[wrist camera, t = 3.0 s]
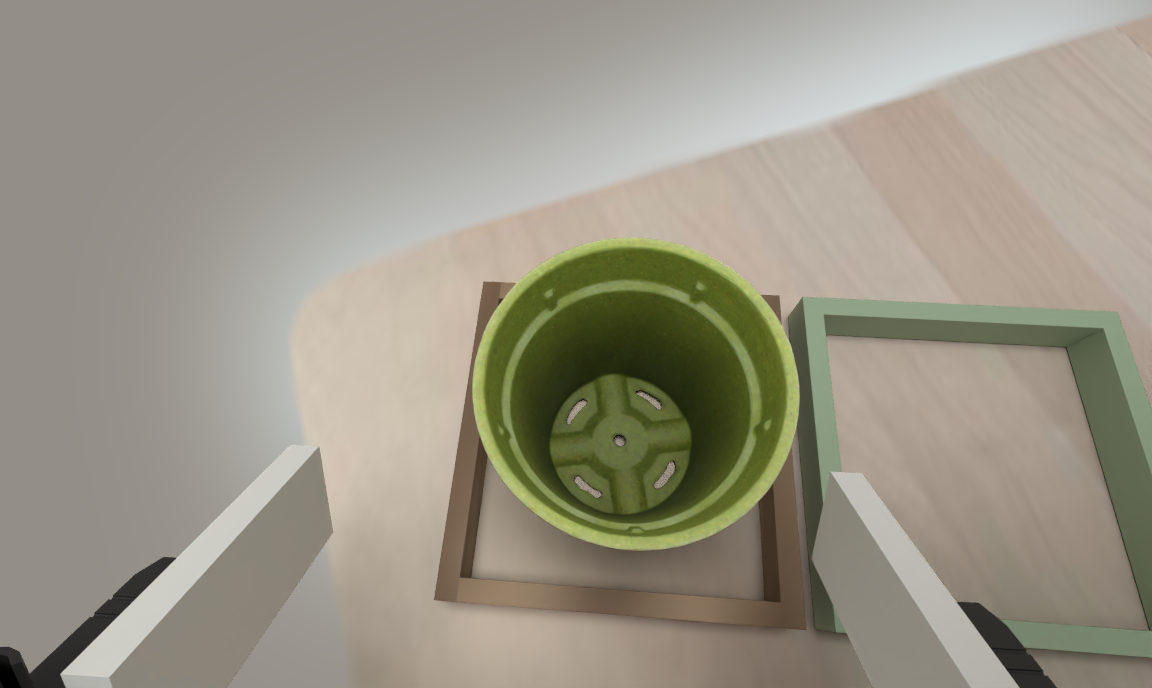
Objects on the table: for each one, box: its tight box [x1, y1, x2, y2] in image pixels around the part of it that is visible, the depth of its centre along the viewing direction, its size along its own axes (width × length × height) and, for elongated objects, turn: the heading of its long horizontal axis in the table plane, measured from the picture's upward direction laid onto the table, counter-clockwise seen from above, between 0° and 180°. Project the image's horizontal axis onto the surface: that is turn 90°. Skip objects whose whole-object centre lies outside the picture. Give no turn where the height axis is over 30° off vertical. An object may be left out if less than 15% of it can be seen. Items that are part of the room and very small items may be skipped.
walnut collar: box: [434, 282, 806, 630], centre depth 23 cm, size 13×13×2 cm
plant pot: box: [472, 238, 800, 551], centre depth 20 cm, size 9×9×9 cm
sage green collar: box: [788, 297, 1152, 658], centre depth 22 cm, size 13×13×2 cm
